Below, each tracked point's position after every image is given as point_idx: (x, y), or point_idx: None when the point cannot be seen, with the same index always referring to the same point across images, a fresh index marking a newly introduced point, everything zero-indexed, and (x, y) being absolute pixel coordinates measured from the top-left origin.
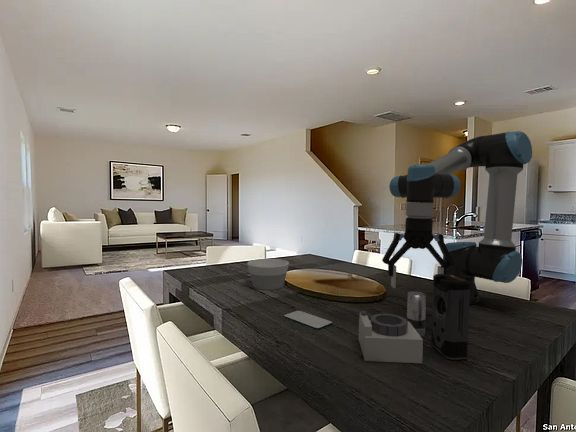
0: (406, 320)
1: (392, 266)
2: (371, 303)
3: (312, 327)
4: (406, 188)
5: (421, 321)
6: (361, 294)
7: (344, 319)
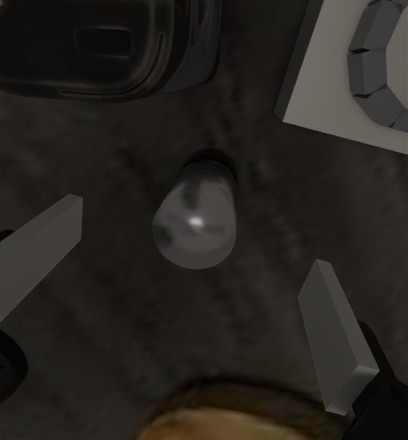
0: (372, 24)
1: (376, 378)
2: (225, 372)
3: None
4: None
5: (202, 160)
6: (220, 423)
7: (370, 296)
